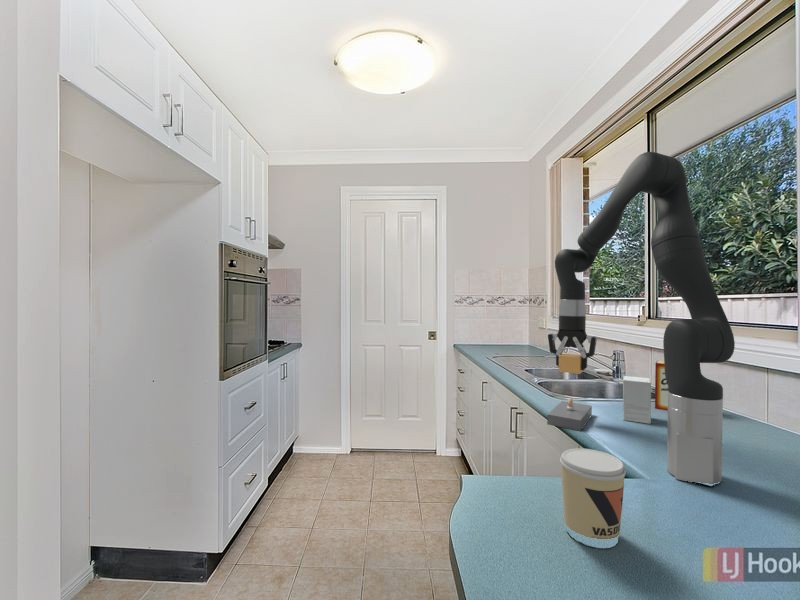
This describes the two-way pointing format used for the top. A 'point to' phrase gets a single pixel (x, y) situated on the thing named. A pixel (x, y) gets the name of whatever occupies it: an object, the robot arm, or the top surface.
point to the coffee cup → (592, 492)
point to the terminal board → (569, 415)
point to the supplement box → (637, 399)
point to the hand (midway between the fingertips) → (571, 368)
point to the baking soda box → (661, 387)
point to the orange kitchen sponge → (570, 363)
